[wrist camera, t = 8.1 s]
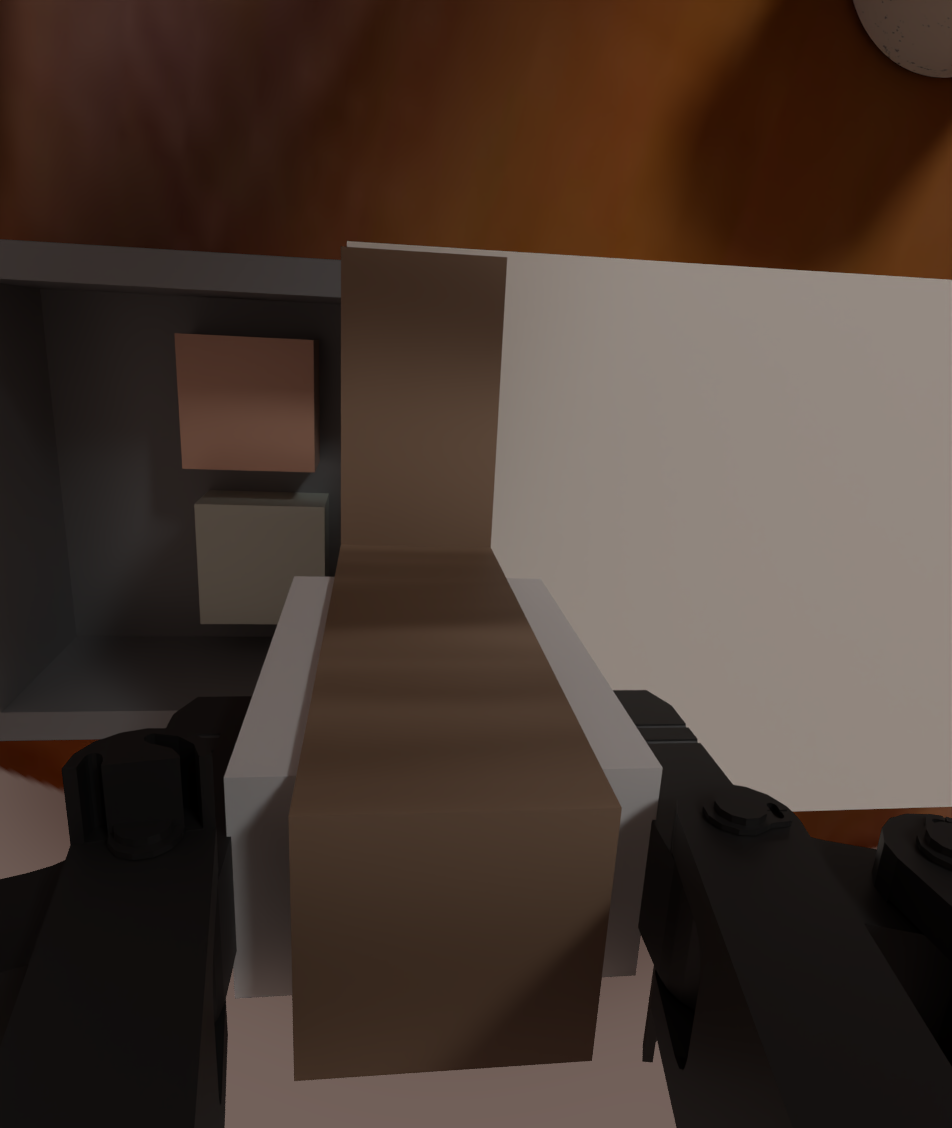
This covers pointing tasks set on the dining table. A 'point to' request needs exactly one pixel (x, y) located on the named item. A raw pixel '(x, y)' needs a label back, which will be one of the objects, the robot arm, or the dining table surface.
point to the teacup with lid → (911, 33)
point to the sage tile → (257, 551)
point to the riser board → (743, 506)
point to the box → (129, 477)
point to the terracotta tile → (248, 402)
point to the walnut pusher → (437, 726)
